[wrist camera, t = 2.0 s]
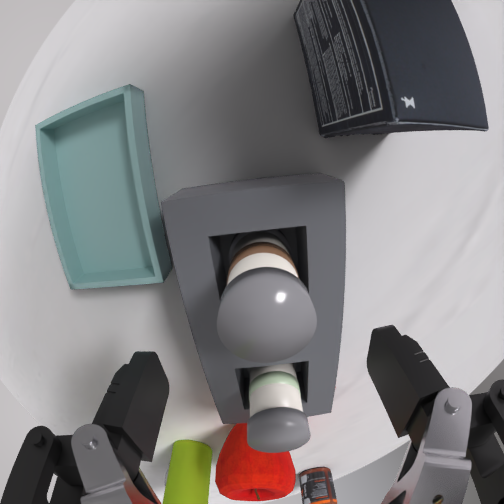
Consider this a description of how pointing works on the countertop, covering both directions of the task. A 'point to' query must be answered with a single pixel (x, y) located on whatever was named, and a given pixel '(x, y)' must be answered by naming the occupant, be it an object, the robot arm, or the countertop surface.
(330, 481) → the supplement bottle
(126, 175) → the tray
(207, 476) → the soap dispenser
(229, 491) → the apple
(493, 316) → the countertop surface
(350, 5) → the small box
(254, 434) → the block
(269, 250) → the fuse
